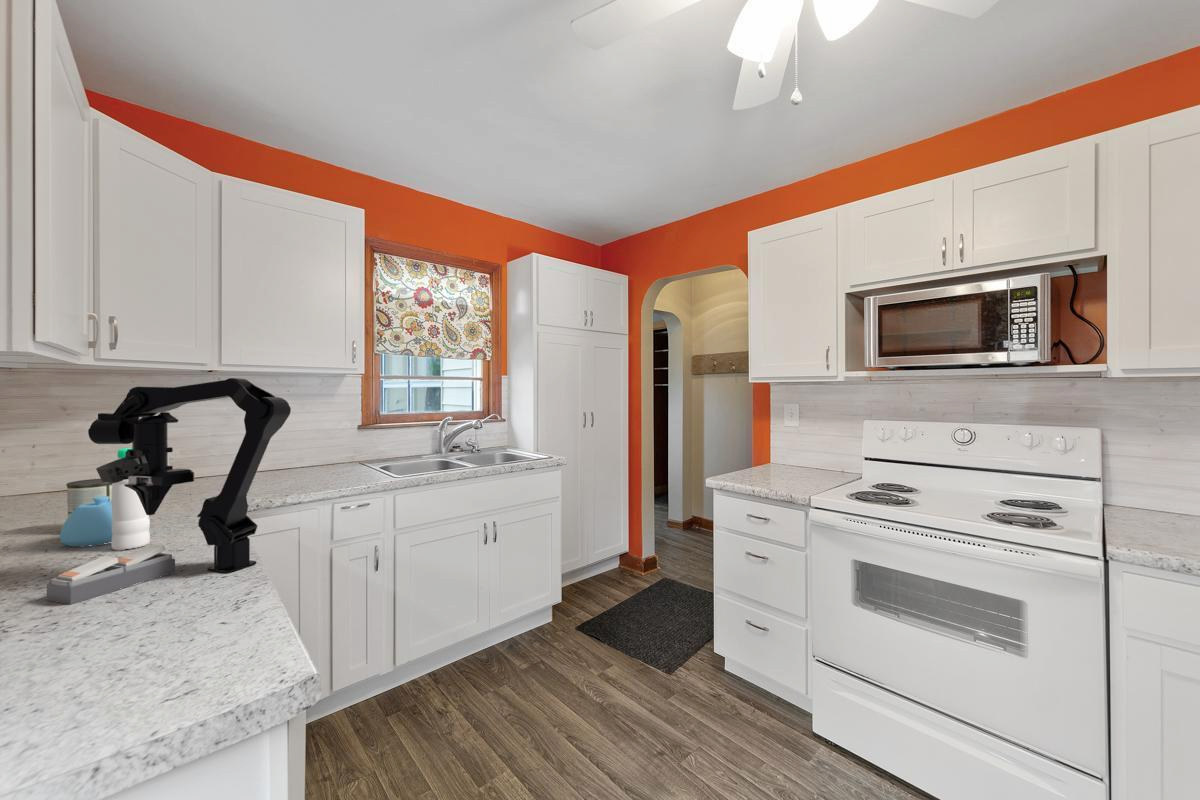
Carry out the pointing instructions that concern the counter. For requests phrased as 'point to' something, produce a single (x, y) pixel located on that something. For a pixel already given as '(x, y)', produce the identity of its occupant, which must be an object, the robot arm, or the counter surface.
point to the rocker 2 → (140, 555)
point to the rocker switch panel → (109, 579)
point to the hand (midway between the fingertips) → (150, 514)
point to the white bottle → (128, 516)
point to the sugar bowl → (89, 524)
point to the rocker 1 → (88, 568)
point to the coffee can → (86, 492)
